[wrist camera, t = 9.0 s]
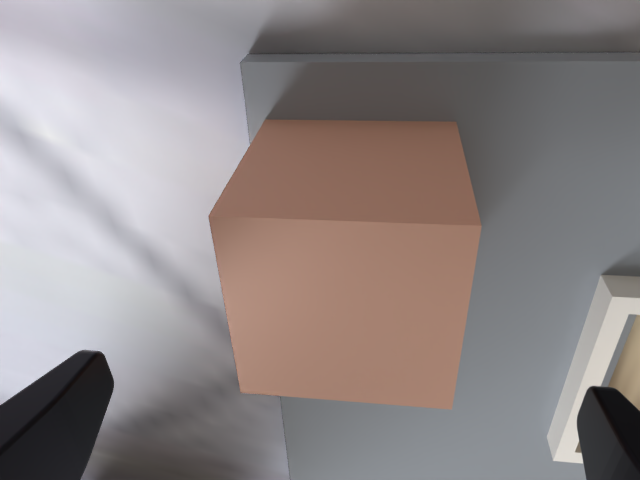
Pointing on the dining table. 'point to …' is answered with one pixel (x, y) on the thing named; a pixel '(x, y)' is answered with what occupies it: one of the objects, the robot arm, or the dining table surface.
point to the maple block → (629, 367)
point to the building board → (491, 253)
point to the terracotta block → (349, 260)
